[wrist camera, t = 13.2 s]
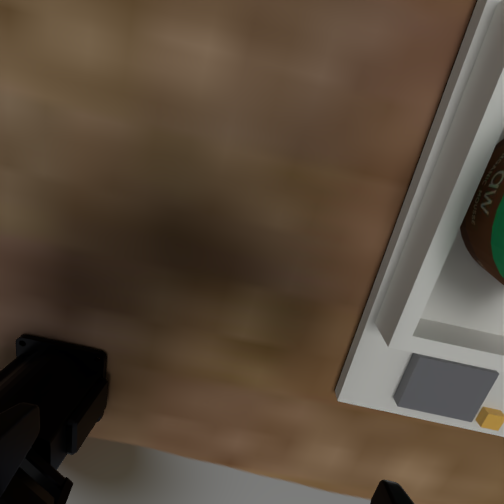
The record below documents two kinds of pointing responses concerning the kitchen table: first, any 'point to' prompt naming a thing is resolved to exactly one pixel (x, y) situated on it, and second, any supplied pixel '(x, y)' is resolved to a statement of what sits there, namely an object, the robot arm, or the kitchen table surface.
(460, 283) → the dock
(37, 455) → the robot arm
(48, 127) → the kitchen table surface
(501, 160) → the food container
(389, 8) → the kitchen table surface
